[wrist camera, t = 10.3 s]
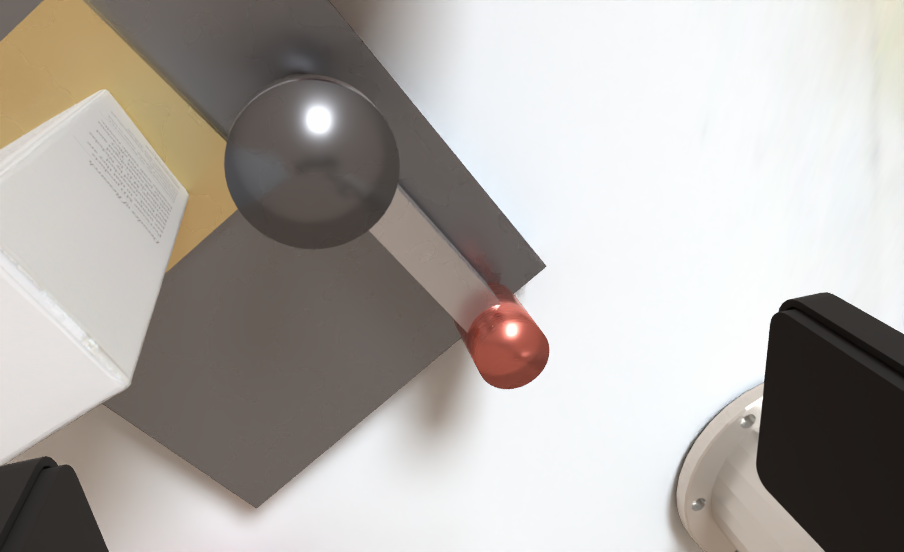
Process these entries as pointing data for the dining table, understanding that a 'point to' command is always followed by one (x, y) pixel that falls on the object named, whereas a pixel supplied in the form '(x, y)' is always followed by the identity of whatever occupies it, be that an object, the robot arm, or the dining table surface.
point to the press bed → (283, 303)
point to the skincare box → (78, 264)
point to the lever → (465, 297)
